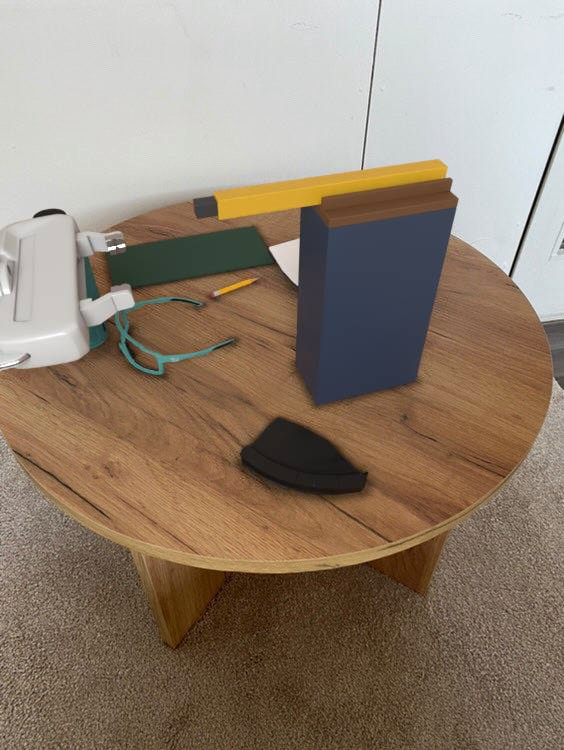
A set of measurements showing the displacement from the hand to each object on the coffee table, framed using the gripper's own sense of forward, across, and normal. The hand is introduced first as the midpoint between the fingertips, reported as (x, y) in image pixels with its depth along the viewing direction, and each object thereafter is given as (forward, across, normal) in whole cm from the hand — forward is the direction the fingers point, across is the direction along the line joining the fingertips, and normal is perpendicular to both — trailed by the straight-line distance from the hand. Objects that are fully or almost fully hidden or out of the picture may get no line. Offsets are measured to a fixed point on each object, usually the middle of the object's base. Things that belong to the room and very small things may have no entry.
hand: (128, 266), depth 57 cm
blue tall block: (+23, 0, +24) cm, 34 cm away
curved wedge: (+12, -13, +23) cm, 29 cm away
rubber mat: (+6, +33, +23) cm, 41 cm away
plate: (+30, +22, +26) cm, 45 cm away
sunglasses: (+1, +13, +22) cm, 26 cm away
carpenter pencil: (+21, 0, -2) cm, 22 cm away
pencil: (+12, +23, +23) cm, 35 cm away
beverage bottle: (-10, +15, +21) cm, 28 cm away
